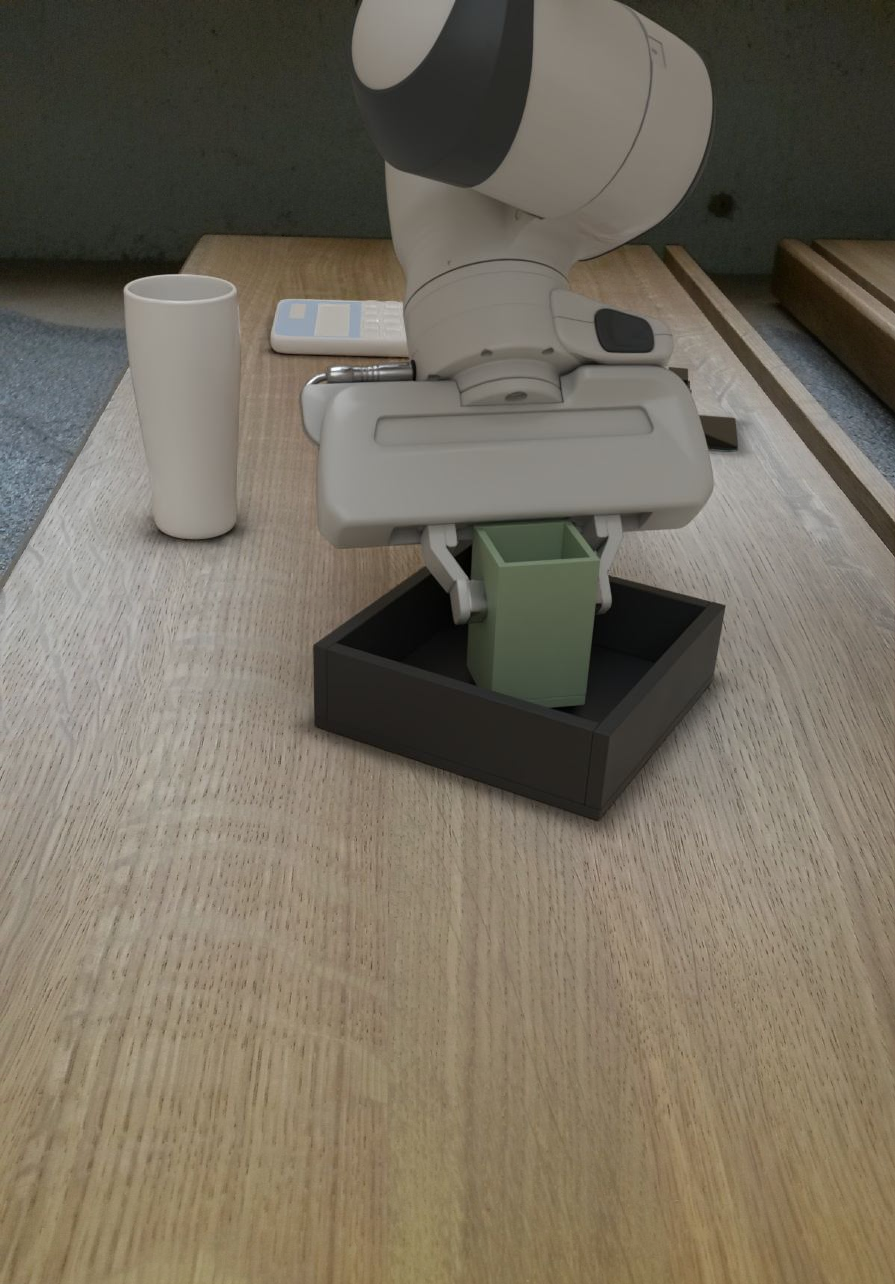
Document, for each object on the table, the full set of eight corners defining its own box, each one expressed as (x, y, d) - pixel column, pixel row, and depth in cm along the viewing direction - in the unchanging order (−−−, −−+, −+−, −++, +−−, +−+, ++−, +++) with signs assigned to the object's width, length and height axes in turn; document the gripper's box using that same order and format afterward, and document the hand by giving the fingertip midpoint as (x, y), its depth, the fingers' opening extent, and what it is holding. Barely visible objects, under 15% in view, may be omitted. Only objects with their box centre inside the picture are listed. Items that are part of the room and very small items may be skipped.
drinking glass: (177, 556, 84) (158, 308, 76) (124, 521, 88) (100, 282, 80) (269, 532, 88) (260, 292, 80) (213, 499, 92) (200, 268, 84)
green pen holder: (556, 658, 73) (569, 518, 68) (585, 705, 69) (600, 560, 64) (466, 666, 72) (473, 524, 67) (490, 713, 68) (499, 566, 63)
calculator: (494, 361, 121) (495, 339, 120) (269, 354, 120) (268, 333, 119) (484, 320, 132) (485, 300, 131) (278, 314, 131) (277, 294, 130)
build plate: (734, 423, 110) (744, 366, 108) (737, 454, 104) (748, 394, 102) (582, 408, 111) (588, 351, 109) (576, 438, 105) (583, 378, 103)
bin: (713, 681, 74) (726, 604, 71) (598, 821, 62) (609, 735, 60) (460, 610, 80) (464, 537, 77) (314, 726, 68) (312, 644, 66)
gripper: (299, 333, 65) (334, 609, 62) (700, 323, 69) (747, 581, 67) (289, 397, 71) (321, 650, 68) (658, 383, 75) (700, 622, 73)
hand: (534, 616), depth 67 cm, fingers closed on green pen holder, 5 cm apart
